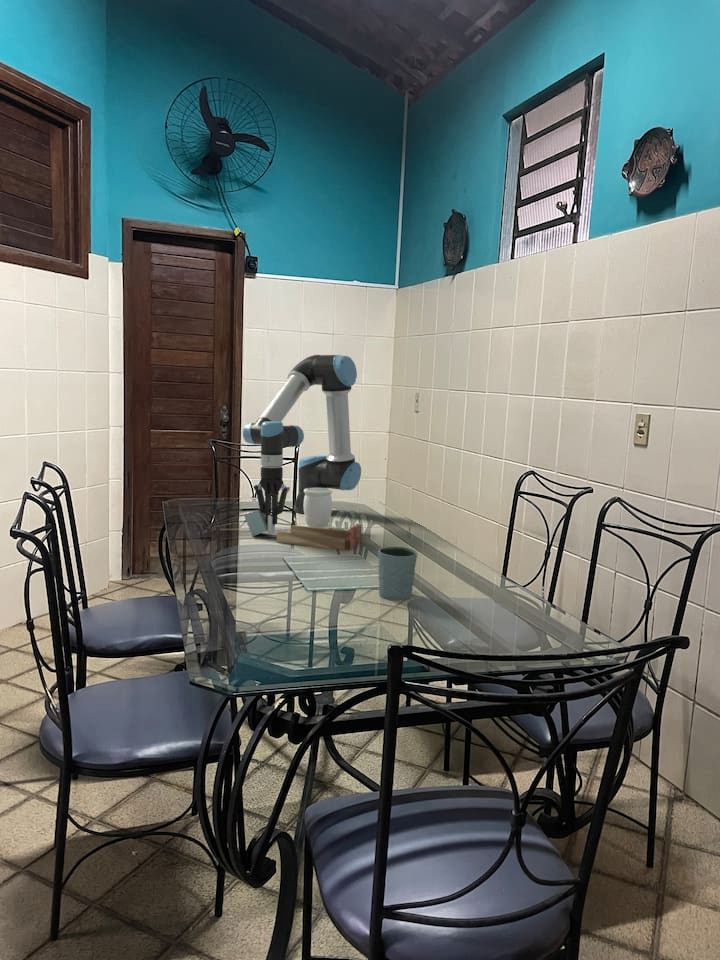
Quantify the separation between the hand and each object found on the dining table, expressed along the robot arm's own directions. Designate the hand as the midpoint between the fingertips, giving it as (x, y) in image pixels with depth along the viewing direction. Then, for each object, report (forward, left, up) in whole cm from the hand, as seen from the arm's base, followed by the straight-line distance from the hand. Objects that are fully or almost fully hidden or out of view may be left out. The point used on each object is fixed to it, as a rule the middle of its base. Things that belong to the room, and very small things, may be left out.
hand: (271, 533), depth 242 cm
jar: (-18, +10, -2) cm, 21 cm away
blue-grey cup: (+45, +58, -2) cm, 73 cm away
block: (-1, -4, 0) cm, 4 cm away
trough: (0, +18, -1) cm, 18 cm away
